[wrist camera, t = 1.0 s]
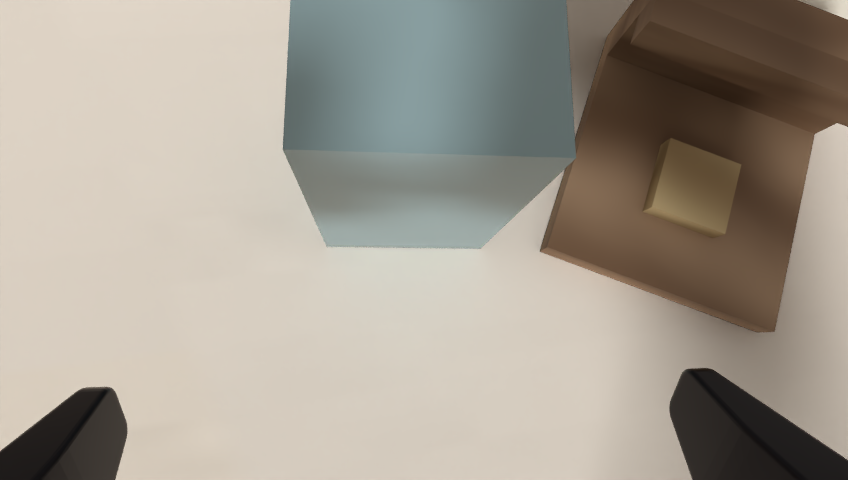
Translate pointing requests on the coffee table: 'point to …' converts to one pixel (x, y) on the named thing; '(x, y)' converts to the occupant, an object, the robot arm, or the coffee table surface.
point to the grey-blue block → (425, 116)
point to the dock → (701, 150)
